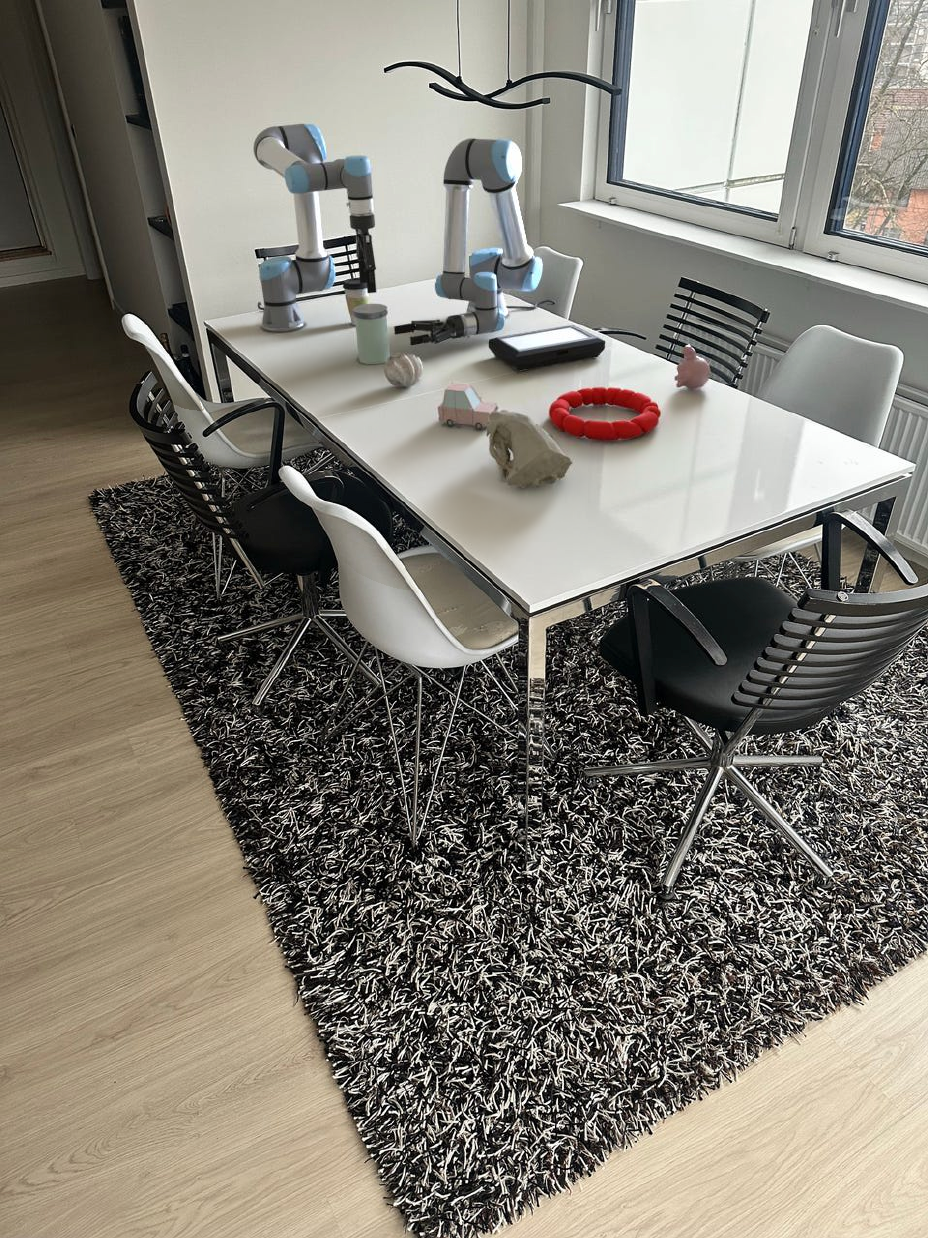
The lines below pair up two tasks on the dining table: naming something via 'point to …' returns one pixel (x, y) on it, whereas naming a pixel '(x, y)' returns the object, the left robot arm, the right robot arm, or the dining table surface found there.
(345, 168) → the left robot arm
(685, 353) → the figurine
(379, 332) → the jar
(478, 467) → the dining table surface
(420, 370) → the seashell
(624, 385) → the dining table surface
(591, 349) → the electronic device
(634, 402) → the decorative ring
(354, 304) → the coffee cup
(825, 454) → the dining table surface
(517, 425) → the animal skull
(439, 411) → the toy car
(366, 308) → the lid
